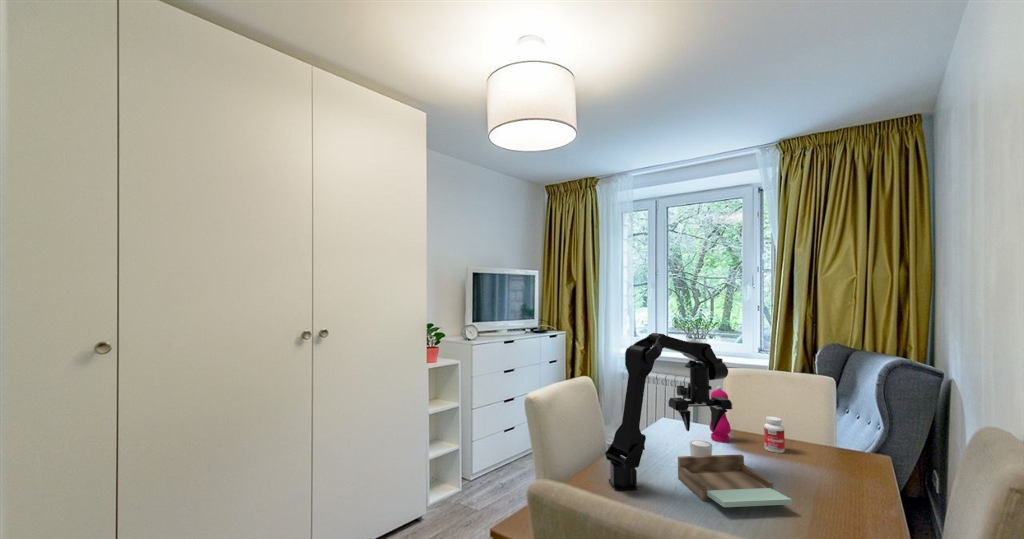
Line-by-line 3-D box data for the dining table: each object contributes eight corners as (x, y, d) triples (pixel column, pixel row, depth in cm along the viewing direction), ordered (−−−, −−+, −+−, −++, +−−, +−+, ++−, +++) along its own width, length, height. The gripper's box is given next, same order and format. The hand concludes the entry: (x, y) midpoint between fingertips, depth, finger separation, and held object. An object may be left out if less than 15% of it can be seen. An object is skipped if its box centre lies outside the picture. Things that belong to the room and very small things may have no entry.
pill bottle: (766, 452, 154) (765, 419, 154) (762, 446, 160) (762, 415, 160) (786, 454, 152) (785, 421, 152) (782, 448, 157) (781, 416, 158)
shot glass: (715, 470, 138) (714, 447, 138) (691, 469, 139) (691, 446, 139) (709, 462, 144) (709, 440, 145) (687, 460, 146) (687, 439, 146)
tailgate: (706, 495, 117) (723, 507, 110) (706, 490, 118) (723, 502, 110) (770, 492, 119) (792, 504, 111) (770, 488, 119) (791, 499, 111)
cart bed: (702, 501, 118) (702, 476, 118) (678, 478, 132) (677, 456, 132) (773, 498, 120) (772, 473, 120) (741, 476, 133) (741, 454, 134)
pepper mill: (734, 443, 163) (733, 388, 164) (714, 443, 163) (713, 388, 164) (725, 436, 170) (724, 384, 171) (706, 436, 170) (705, 383, 171)
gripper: (713, 376, 152) (714, 422, 151) (661, 377, 150) (661, 423, 149) (732, 383, 141) (733, 432, 140) (676, 384, 139) (676, 434, 138)
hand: (700, 430), depth 142 cm, fingers open, 8 cm apart
